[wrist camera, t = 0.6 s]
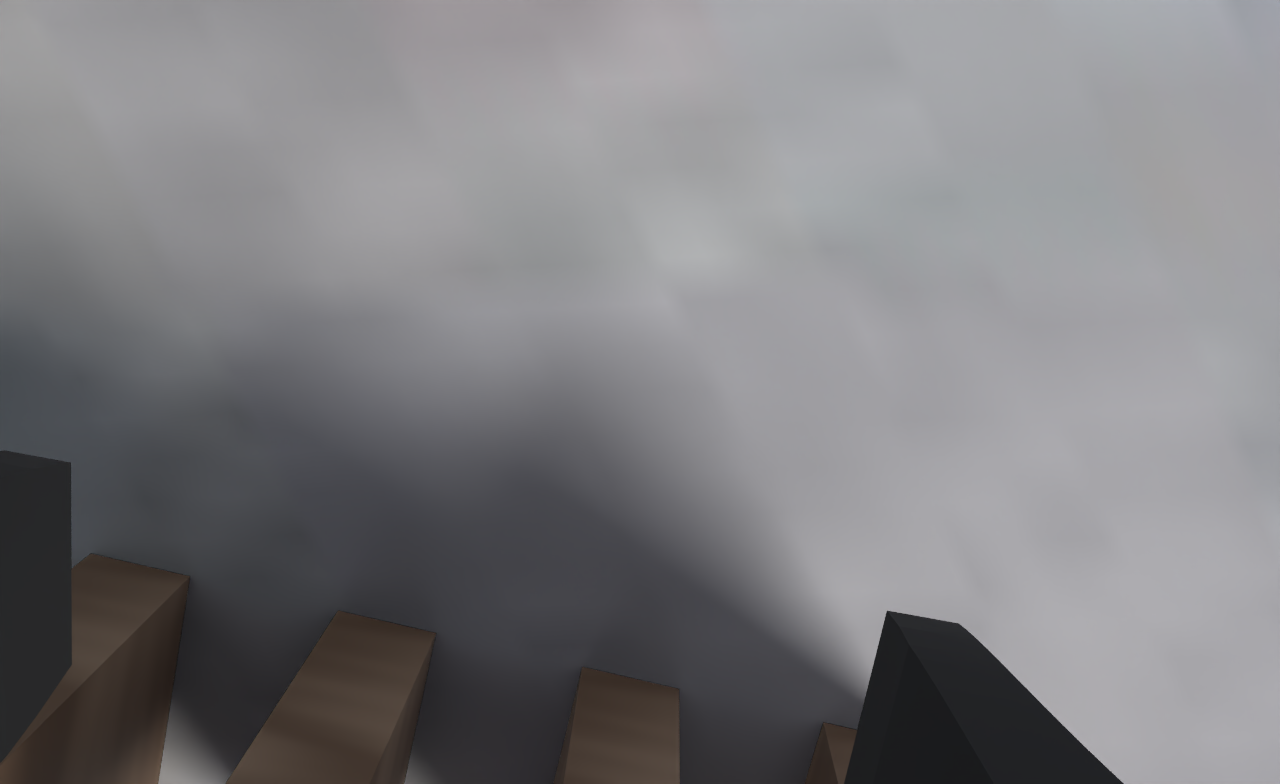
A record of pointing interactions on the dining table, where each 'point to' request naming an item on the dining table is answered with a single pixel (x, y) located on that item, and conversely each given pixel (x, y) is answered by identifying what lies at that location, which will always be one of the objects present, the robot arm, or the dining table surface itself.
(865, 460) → the dining table surface
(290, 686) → the walnut domino
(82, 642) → the walnut domino
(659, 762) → the walnut domino
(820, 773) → the walnut domino
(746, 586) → the dining table surface
